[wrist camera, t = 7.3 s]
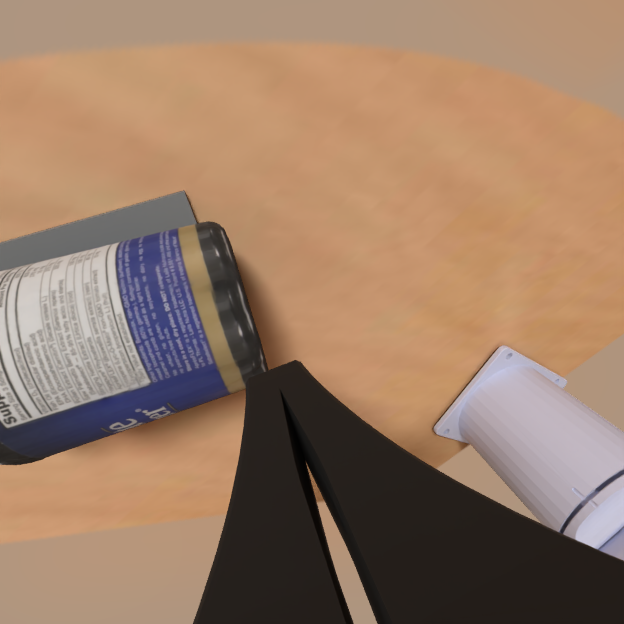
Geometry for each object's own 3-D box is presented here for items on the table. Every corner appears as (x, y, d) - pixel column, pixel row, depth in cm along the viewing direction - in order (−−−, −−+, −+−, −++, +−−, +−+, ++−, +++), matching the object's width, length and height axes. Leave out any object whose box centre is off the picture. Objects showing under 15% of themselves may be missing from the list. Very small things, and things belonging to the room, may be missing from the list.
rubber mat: (184, 190, 14) (184, 191, 13) (246, 349, 18) (247, 352, 18) (-140, 282, 12) (-147, 286, 12) (15, 434, 16) (12, 439, 16)
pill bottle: (265, 365, 16) (0, 454, 14) (224, 235, 16) (-55, 307, 14) (280, 399, 10) (-178, 561, 8) (215, 191, 10) (-285, 308, 8)
